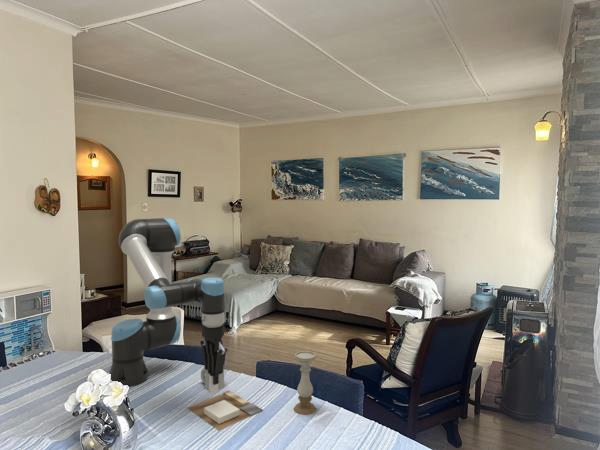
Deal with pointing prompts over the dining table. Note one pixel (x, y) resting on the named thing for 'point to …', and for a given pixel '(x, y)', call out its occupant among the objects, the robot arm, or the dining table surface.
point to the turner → (242, 403)
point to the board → (199, 411)
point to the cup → (206, 378)
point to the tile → (221, 411)
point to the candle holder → (305, 384)
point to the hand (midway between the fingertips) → (213, 392)
